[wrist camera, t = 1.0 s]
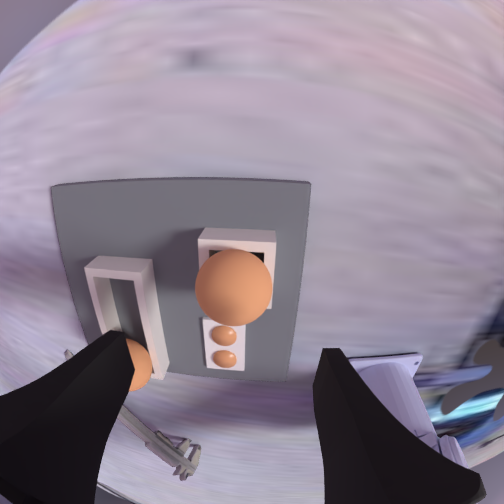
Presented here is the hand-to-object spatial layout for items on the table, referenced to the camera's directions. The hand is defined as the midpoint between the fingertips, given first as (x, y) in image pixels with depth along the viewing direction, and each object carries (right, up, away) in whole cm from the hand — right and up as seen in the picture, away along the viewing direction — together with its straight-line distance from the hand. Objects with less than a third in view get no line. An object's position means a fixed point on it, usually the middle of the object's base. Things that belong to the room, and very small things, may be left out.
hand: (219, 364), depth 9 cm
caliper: (-12, -14, +18) cm, 26 cm away
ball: (0, +2, +5) cm, 6 cm away
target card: (-1, -3, +11) cm, 11 cm away
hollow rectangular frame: (-8, -1, +10) cm, 13 cm away
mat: (-5, +1, +10) cm, 12 cm away
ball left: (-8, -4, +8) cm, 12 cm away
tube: (0, +3, +8) cm, 9 cm away
